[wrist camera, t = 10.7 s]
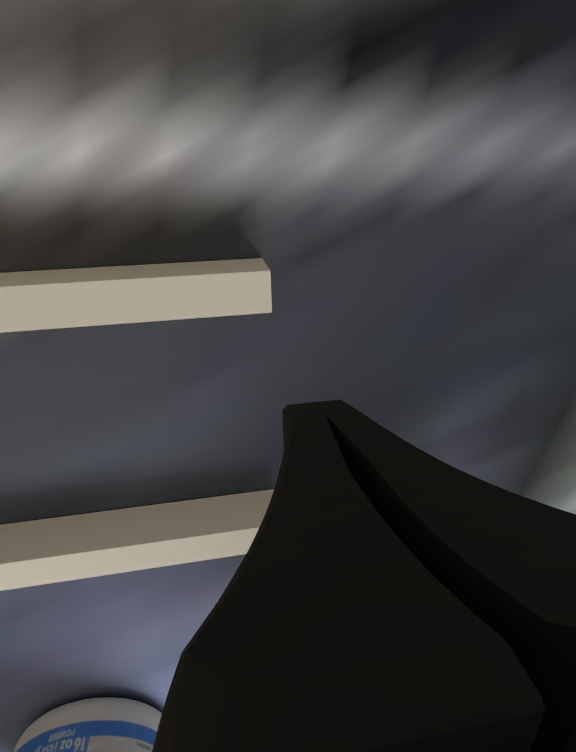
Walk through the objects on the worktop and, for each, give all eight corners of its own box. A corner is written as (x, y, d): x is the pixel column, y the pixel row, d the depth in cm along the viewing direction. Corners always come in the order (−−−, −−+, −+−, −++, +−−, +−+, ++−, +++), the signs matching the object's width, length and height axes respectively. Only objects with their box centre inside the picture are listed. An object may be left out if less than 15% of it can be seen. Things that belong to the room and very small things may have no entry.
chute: (262, 257, 18) (270, 270, 15) (274, 511, 23) (282, 548, 21) (-198, 283, 15) (-268, 302, 13) (-62, 558, 21) (-95, 605, 19)
